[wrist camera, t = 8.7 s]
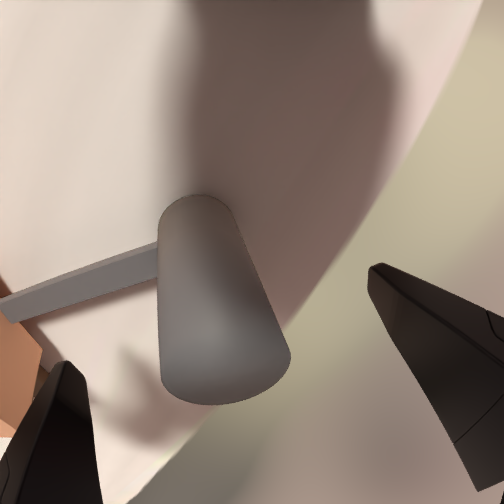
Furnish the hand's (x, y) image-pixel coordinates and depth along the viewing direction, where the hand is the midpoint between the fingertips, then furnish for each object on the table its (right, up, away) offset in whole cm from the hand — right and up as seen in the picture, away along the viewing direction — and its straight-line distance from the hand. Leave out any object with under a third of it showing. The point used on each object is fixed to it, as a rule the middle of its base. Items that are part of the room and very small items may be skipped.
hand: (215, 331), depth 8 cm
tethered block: (-8, +1, +3) cm, 9 cm away
